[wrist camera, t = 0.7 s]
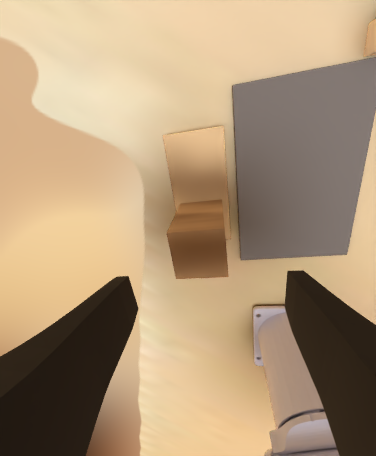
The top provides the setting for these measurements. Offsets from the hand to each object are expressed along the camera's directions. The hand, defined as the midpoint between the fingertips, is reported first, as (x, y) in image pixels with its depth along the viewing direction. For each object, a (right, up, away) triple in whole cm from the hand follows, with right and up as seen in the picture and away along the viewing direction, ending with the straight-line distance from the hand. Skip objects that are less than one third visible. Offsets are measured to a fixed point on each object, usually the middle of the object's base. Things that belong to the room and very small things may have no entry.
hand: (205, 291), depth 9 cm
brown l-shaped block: (0, +6, +8) cm, 10 cm away
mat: (+8, +7, +7) cm, 12 cm away
